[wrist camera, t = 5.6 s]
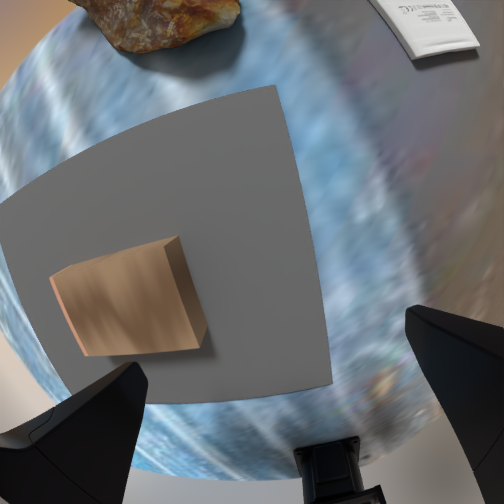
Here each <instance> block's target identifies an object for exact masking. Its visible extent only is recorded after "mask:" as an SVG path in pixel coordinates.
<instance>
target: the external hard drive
mask: <svg viewBox="0 0 504 504" xmlns="http://www.w3.org/2000/svg"><path fill="white" fill-rule="evenodd" d="M369 1H370V2H371V3H372V5H373V6H374V7H375V8H376V10H377V11H378V12H379V13H380V15H381V16H382V17H383V19H384V20H385V21H386V23H387V24H388V25H389V27H390V28H391V29H392V31H393V32H394V34H395V35H396V37H397V38H398V40H399V41H400V43H401V44H402V46H403V47H404V49H405V50H406V52H407V54H408V55H409V57H410V58H411V60H415V59H419V58H424V57H428V56H433V55H438V54H442V53H446V52H452V51H453V52H456V51H463V50H470V49H476V48H478V47H480V44H479V43H478V41H477V39H476V37H475V36H474V34H473V33H472V31H471V30H470V28H469V26H468V25H467V23H466V22H465V20H464V19H463V17H462V16H461V14H460V13H459V11H458V10H457V9H456V7H455V6H454V4H453V3H452V2H451V0H369Z"/></svg>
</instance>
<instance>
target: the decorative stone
mask: <svg viewBox="0 0 504 504" xmlns="http://www.w3.org/2000/svg"><path fill="white" fill-rule="evenodd" d="M68 1H70V2H73V3H75V4H76V5H78V6H81V7H83V8H84V9H85V10H86V11H87V12H88V16H89V18H90V19H91V20H92V21H93V22H95V23H96V24H97V26H98V27H99V28H100V29H101V30H102V32H103V34H104V35H105V37H106V38H107V40H108V41H109V42H110V43H111V44H112V45H113V46H114V47H115V48H117V49H118V50H120V51H127V52H130V51H132V52H134V53H138V54H140V53H146V52H151V51H155V50H157V49H160V48H174V47H178V46H180V45H182V44H185V43H187V42H188V41H190V40H192V39H195V38H197V37H199V36H202V35H204V34H206V33H208V32H211V31H215V30H221V29H225V28H229V27H230V26H231V25H232V24H233V23H234V21H235V20H236V18H237V16H238V15H239V13H240V11H241V9H240V6H239V5H238V4H239V0H68Z"/></svg>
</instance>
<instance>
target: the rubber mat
mask: <svg viewBox="0 0 504 504" xmlns="http://www.w3.org/2000/svg"><path fill="white" fill-rule="evenodd" d="M178 235H179V239H180V242H181V246H182V249H183V252H184V255H185V259H186V262H187V265H188V268H189V271H190V275H191V278H192V281H193V284H194V287H195V290H196V293H197V296H198V299H199V302H200V305H201V308H202V311H203V313H204V316H205V319H206V322H207V325H208V327H207V329H206V332H205V335H204V338H203V340H202V343H201V346H200V348H195V349H187V350H177V351H168V352H157V353H144V354H130V355H110V356H85V355H84V353H83V352H82V350H81V348H80V346H79V344H78V342H77V340H76V338H75V336H74V334H73V332H72V330H71V328H70V326H69V324H68V322H67V320H66V318H65V315H64V313H63V311H62V309H61V306H60V304H59V302H58V299H57V297H56V295H55V292H54V290H53V287H52V285H51V282H50V279H49V277H51V276H53V275H54V274H56V273H58V272H60V271H61V270H63V269H65V268H67V267H68V266H70V265H74V264H77V263H80V262H84V261H87V260H90V259H94V258H97V257H101V256H104V255H108V254H111V253H115V252H118V251H122V250H126V249H129V248H133V247H136V246H140V245H144V244H148V243H151V242H155V241H159V240H163V239H166V238H170V237H174V236H178ZM0 243H1V246H2V250H3V253H4V256H5V260H6V263H7V266H8V269H9V272H10V275H11V278H12V280H13V283H14V286H15V288H16V291H17V294H18V296H19V299H20V301H21V303H22V306H23V308H24V310H25V313H26V315H27V317H28V319H29V321H30V323H31V326H32V328H33V330H34V332H35V334H36V336H37V338H38V340H39V342H40V343H41V345H42V347H43V349H44V351H45V353H46V354H47V356H48V358H49V360H50V361H51V363H52V365H53V367H54V368H55V370H56V372H57V373H58V375H59V376H60V378H61V380H62V381H63V383H64V384H65V386H66V387H67V389H68V390H69V392H70V393H71V395H74V394H76V393H77V392H79V391H81V390H82V389H84V388H86V387H87V386H89V385H90V384H92V383H94V382H95V381H97V380H98V379H100V378H102V377H103V376H105V375H106V374H108V373H110V372H111V371H113V370H114V369H116V368H117V367H119V366H121V365H122V364H124V363H125V362H130V361H136V362H138V363H139V365H140V366H141V368H142V370H143V372H144V373H145V375H146V377H147V379H148V391H147V396H146V402H145V404H181V403H204V402H218V401H230V400H240V399H249V398H257V397H264V396H271V395H277V394H283V393H289V392H295V391H300V390H305V389H310V388H315V387H319V386H324V385H328V384H333V381H332V371H331V361H330V353H329V344H328V336H327V329H326V321H325V314H324V307H323V300H322V294H321V287H320V281H319V275H318V269H317V263H316V258H315V252H314V246H313V241H312V236H311V231H310V225H309V220H308V215H307V211H306V206H305V201H304V196H303V192H302V187H301V183H300V178H299V174H298V170H297V165H296V161H295V157H294V153H293V149H292V145H291V141H290V137H289V133H288V129H287V125H286V121H285V118H284V114H283V110H282V107H281V103H280V99H279V96H278V92H277V89H276V86H275V85H270V86H265V87H260V88H256V89H251V90H247V91H242V92H238V93H234V94H230V95H226V96H223V97H219V98H215V99H212V100H208V101H205V102H202V103H198V104H195V105H192V106H189V107H186V108H183V109H180V110H177V111H174V112H171V113H169V114H166V115H163V116H160V117H158V118H155V119H152V120H150V121H147V122H145V123H142V124H140V125H138V126H135V127H133V128H130V129H128V130H126V131H124V132H121V133H119V134H117V135H115V136H112V137H110V138H108V139H106V140H104V141H102V142H100V143H98V144H96V145H94V146H92V147H90V148H88V149H86V150H84V151H82V152H80V153H79V154H77V155H75V156H73V157H71V158H69V159H68V160H66V161H64V162H62V163H61V164H59V165H57V166H56V167H54V168H52V169H51V170H49V171H47V172H46V173H44V174H43V175H41V176H39V177H38V178H36V179H35V180H33V181H32V182H30V183H29V184H27V185H26V186H24V187H23V188H21V189H20V190H19V191H17V192H16V193H14V194H13V195H12V196H10V197H9V198H7V199H6V200H5V201H3V202H2V203H1V204H0Z"/></svg>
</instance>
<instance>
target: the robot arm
mask: <svg viewBox="0 0 504 504" xmlns="http://www.w3.org/2000/svg"><path fill="white" fill-rule="evenodd" d="M405 333H406V337H407V339H408V341H409V343H410V345H411V347H412V350H413V352H414V354H415V356H416V359H417V361H418V363H419V366H420V368H421V370H422V372H423V374H424V376H425V378H426V379H427V381H428V383H429V384H430V386H431V388H432V390H433V392H434V393H435V395H436V397H437V399H438V401H439V402H440V404H441V406H442V408H443V410H444V412H445V414H446V416H447V418H448V419H449V421H450V423H451V425H452V427H453V429H454V431H455V433H456V435H457V438H458V440H459V441H460V444H461V446H462V448H463V450H464V452H465V455H466V457H467V459H468V461H469V464H470V466H471V468H472V470H473V471H474V472H473V473H474V476H475V478H476V480H477V483H478V486H479V488H480V491H481V493H482V496H483V499H484V502H485V504H504V329H503V327H500V326H496V325H492V324H488V323H485V322H481V321H477V320H473V319H470V318H466V317H462V316H459V315H455V314H451V313H447V312H444V311H440V310H436V309H433V308H429V307H425V306H422V305H414V306H411V307H408V308H407V309H406V313H405ZM147 391H148V379H147V377H146V375H145V373H144V372H143V370H142V368H141V366H140V365H139V363H138V362H136V361H130V362H125V363H124V364H122V365H121V366H119V367H117V368H116V369H114V370H113V371H111V372H110V373H108V374H106V375H105V376H103V377H102V378H100V379H98V380H97V381H95V382H94V383H92V384H90V385H89V386H87V387H86V388H84V389H82V390H81V391H79V392H77V393H76V394H74V395H72V396H71V397H69V398H68V399H66V400H64V401H63V402H61V403H59V404H58V405H56V406H55V407H53V408H51V409H49V410H48V411H46V412H44V413H42V414H41V415H39V416H37V417H36V418H33V419H31V420H29V421H28V422H25V423H23V424H22V425H20V426H17V427H16V428H13V429H11V430H9V431H7V432H4V433H1V434H0V504H122V502H123V497H124V493H125V487H126V484H127V479H128V475H129V471H130V466H131V462H132V458H133V454H134V450H135V446H136V442H137V439H138V435H139V431H140V427H141V424H142V419H143V414H144V408H145V402H146V396H147ZM359 450H360V438H359V436H354V437H351V438H347V439H343V440H338V441H334V442H330V443H325V444H320V445H315V446H310V447H304V448H298V449H295V450H294V457H295V461H296V464H297V467H298V470H299V474H300V476H301V477H302V483H303V496H304V504H386V501H385V498H384V495H383V492H382V489H381V486H380V485H377V486H375V487H373V488H370V489H367V490H364V486H363V482H362V477H361V473H360V469H359V465H358V462H359Z"/></svg>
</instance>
